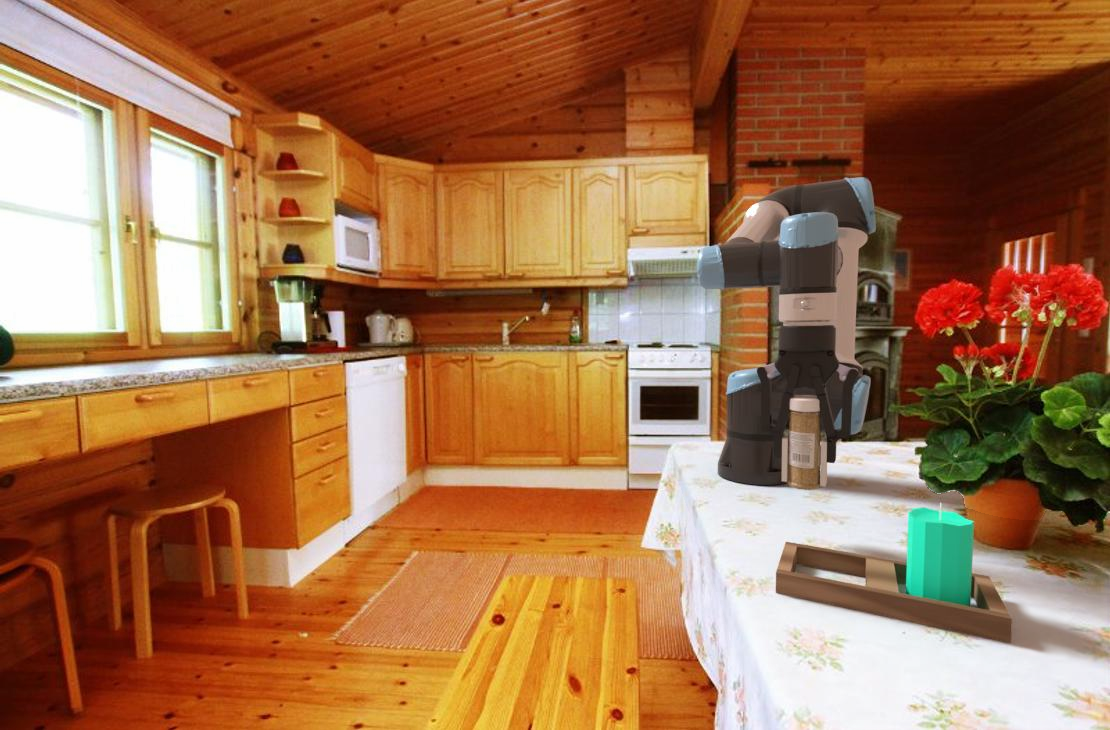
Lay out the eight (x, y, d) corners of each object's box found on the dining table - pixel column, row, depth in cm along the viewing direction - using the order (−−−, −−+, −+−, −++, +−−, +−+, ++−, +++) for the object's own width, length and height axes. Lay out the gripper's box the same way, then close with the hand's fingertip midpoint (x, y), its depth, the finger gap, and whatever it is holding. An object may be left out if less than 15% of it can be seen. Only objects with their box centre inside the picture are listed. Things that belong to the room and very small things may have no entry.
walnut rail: (785, 559, 74) (785, 541, 74) (988, 596, 63) (989, 576, 63) (775, 592, 65) (776, 572, 64) (1010, 642, 54) (1011, 618, 54)
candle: (973, 626, 57) (978, 515, 56) (906, 610, 60) (909, 506, 59) (966, 601, 62) (971, 499, 61) (904, 588, 65) (908, 491, 64)
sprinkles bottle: (827, 486, 79) (829, 396, 78) (809, 493, 77) (811, 400, 75) (798, 479, 83) (799, 393, 82) (780, 485, 80) (781, 396, 79)
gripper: (738, 325, 79) (738, 480, 81) (878, 323, 70) (873, 497, 72) (747, 324, 85) (746, 467, 87) (876, 322, 77) (871, 481, 79)
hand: (804, 480), depth 80 cm, fingers closed on sprinkles bottle, 4 cm apart
